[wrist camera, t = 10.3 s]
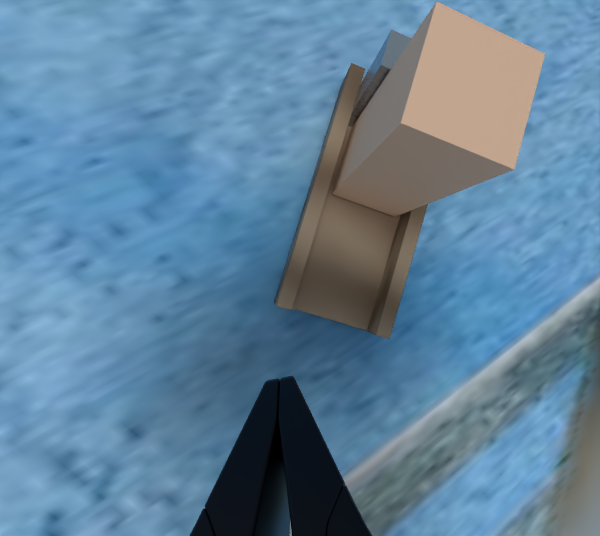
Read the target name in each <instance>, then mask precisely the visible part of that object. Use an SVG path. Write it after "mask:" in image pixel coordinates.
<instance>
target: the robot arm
mask: <svg viewBox="0 0 600 536" xmlns="http://www.w3.org/2000/svg"><path fill="white" fill-rule="evenodd" d="M205 508H206V509H203V510H202V512H201V514H200V516H199V518H198V520H197V522H196V524H195V526H194V528H193V530H192V532H191V534H190V536H289V533H290V521H291V529H292V536H372V534H371V533H370V531H369V529H368V528H367V526H366V524H365V522H364V520H363V518H362V516H361V514H360V512H359V510H358V509H357V507H356V505H355V503H354V501H353V499H352V497H351V494H350V492H349V490H348V488H347V486H345V482H344V480H343V478H342V476H341V474H340V472H339V470H338V468H337V466H336V464H335V462H334V459H333V457H332V455H331V453H330V451H329V449H328V447H327V445H326V443H325V441H324V439H323V437H322V435H321V432H320V430H319V428H318V426H317V424H316V422H315V420H314V418H313V416H312V414H311V412H310V410H309V408H308V405H307V403H306V401H305V399H304V397H303V395H302V393H301V391H300V389H299V387H298V385H297V383H296V380H295V379H294V377H293V376H289V377H284V378H281V379H280V380H279V379H272V380H268V381H266V382H265V384H264V386H263V388H262V390H261V392H260V394H259V396H258V398H257V400H256V402H255V404H254V406H253V408H252V410H251V412H250V414H249V416H248V418H247V420H246V422H245V424H244V426H243V429H242V431H241V433H240V435H239V437H238V439H237V441H236V443H235V445H234V447H233V449H232V451H231V453H230V455H229V457H228V459H227V461H226V463H225V465H224V467H223V469H222V471H221V473H220V476H219V478H218V480H217V482H216V484H215V486H214V488H213V490H212V492H211V494H210V496H209V498H208V500H207V502H206V504H205Z"/></svg>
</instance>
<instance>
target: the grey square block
mask: <svg viewBox="0 0 600 536" xmlns="http://www.w3.org/2000/svg"><path fill="white" fill-rule="evenodd" d="M410 40H411V38H409V37H407V36H404V35H402V34H400V33H398V32H396V31H393V30H391V32H390V33H389V35H388V37H387V39H386V40H385V42H384V44H383V46H382V48H381V49H380V51H379V53H378V55H377V56H376V58H375V60H374V62H373V64H372V65H371V67H370V69H369V71H368V72H367V74H366V76H365V78H364V80H363V81H362V83H361V85H360V88H359V91H358V94H357V97H356V101H355V104H354V107H353V111H352V114H351V117H350V120H349V124H348V126H350V127H353V125H354V124H355V122H356V121H357V119H358V118H359V116H360V115H361V113H362V112H363V111H364V109H365V108H366V106H367V105H368V103H369V102H370V100H371V99H372V97H373V96H374V94H375V93H376V91H377V90H378V88H379V87H380V85H381V84H382V82H383V81H384V79H385V78H386V76H387V75H388V73H389V72H390V70H391V69H392V67H393V66H394V64H395V63H396V61H397V60H398V58H399V57H400V55H401V54H402V52H403V51H404V49H405V48H406V46H407V45H408V43H409V42H410Z"/></svg>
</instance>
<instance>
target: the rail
mask: <svg viewBox="0 0 600 536" xmlns="http://www.w3.org/2000/svg"><path fill="white" fill-rule="evenodd" d="M364 71H365V69H364V68H362V67H360V66H357V65H355V64H353V63H351V66H350V68H349V70H348V72H347V74H346V76H345V79H344V81H343V83H342V85H341V88H340V91H339V95H338V98H337V101H336V104H335V107H334V111H333V114H332V117H331V120H330V124H329V127H328V130H327V133H326V136H325V140H324V143H323V146H322V149H321V153H320V156H319V159H318V162H317V166H316V169H315V172H314V175H313V178H312V182H311V185H310V188H309V191H308V195H307V198H306V201H305V204H304V207H303V211H302V214H301V217H300V220H299V224H298V227H297V230H296V233H295V236H294V240H293V243H292V246H291V249H290V253H289V256H288V259H287V262H286V265H285V269H284V272H283V275H282V278H281V282H280V285H279V288H278V291H277V295H276V298H275V301H274V303H275V304H276V306H278V307H281V308H285V309H288V310H292V309H295V310H299V311H302V312H306V313H309V314H312V315H316V316H319V317H323V318H326V319H329V320H333V321H336V322H340V323H343V324H346V325H350V326H353V327H357V328H360V329H363V330H367V331H369V332H371V333H373V334H375V335H377V336H380V337H384V338H387V339H390V335H391V332H392V328H393V325H394V321H395V318H396V314H397V311H398V307H399V304H400V300H401V297H402V293H403V289H404V286H405V282H406V279H407V275H408V272H409V268H410V265H411V261H412V258H413V254H414V251H415V247H416V244H417V240H418V237H419V233H420V230H421V226H422V223H423V219H424V215H425V212H426V208H427V205H428V204H426V205H424V206H421V207H419V208H416V209H413V210H411V211H408V212H406V213H403V214H401V215H398V216H396V217H394V216H391V215H389V214H386V213H383V212H380V211H377V210H375V209H372V208H369V207H366V206H364V205H361V204H358V203H355V202H352V201H350V200H347V199H344V198H341V197H338V196H336V195H333V194H332V191H333V187H334V184H335V181H336V178H337V174H338V171H339V168H340V164H341V161H342V158H343V155H344V151H345V148H346V145H347V141H348V138H349V135H350V132H351V128H352V127H350V126H348V124H349V120H350V117H351V114H352V111H353V107H354V104H355V101H356V97H357V94H358V91H359V88H360V84H361V81H362V78H363V75H364Z"/></svg>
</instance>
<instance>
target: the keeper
mask: <svg viewBox="0 0 600 536" xmlns="http://www.w3.org/2000/svg"><path fill="white" fill-rule="evenodd" d="M544 57H545V54H544V53H542V52H540V51H538V50H536V49H534V48H532V47H530V46H528V45H526V44H523V43H521V42H519V41H517V40H515V39H513V38H511V37H509V36H507V35H505V34H503V33H501V32H499V31H497V30H495V29H492V28H490V27H488V26H486V25H484V24H482V23H480V22H478V21H476V20H474V19H472V18H470V17H468V16H466V15H464V14H461V13H459V12H457V11H455V10H453V9H451V8H449V7H447V6H445V5H443V4H441V3H439V2H436V3H435V5H434V6H433V8H432V9H431V11H430V12H429V14H428V15H427V17H426V18H425V20H424V21H423V22H422V24H421V25H420V27H419V28H418V30H417V31H416V33H415V34H414V36H413V37H412V39H411V40H410V42H409V43H408V45H407V46H406V48H405V49H404V51H403V52H402V54H401V55H400V57H399V58H398V60H397V61H396V63H395V64H394V66H393V67H392V69H391V70H390V72H389V73H388V75H387V76H386V78H385V79H384V81H383V82H382V84H381V85H380V87H379V88H378V90H377V91H376V93H375V94H374V96H373V97H372V99H371V100H370V102H369V103H368V105H367V106H366V108H365V109H364V111H363V112H362V113H361V115H360V116H359V118H358V119H357V121H356V122H355V124H354V125H353V127H352V128H351V132H350V135H349V138H348V141H347V145H346V148H345V151H344V155H343V158H342V161H341V164H340V168H339V171H338V174H337V178H336V181H335V184H334V187H333V191H332V194H333V195H336V196H338V197H341V198H344V199H347V200H350V201H352V202H355V203H358V204H361V205H364V206H366V207H369V208H372V209H375V210H377V211H380V212H383V213H386V214H389V215H391V216H394V217H396V216H398V215H401V214H403V213H406V212H408V211H411V210H413V209H416V208H419V207H421V206H424V205H426V204H429V203H431V202H434V201H436V200H439V199H441V198H444V197H446V196H449V195H451V194H454V193H456V192H459V191H461V190H464V189H466V188H469V187H471V186H474V185H476V184H479V183H481V182H484V181H487V180H489V179H492V178H494V177H497V176H499V175H502V174H504V173H507V172H509V171H512V170H514V169H515V165H516V161H517V158H518V154H519V150H520V146H521V143H522V139H523V135H524V131H525V128H526V124H527V120H528V117H529V113H530V109H531V105H532V102H533V98H534V94H535V90H536V87H537V83H538V79H539V75H540V72H541V68H542V64H543V60H544Z"/></svg>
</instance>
